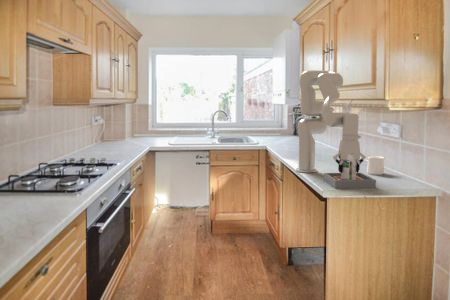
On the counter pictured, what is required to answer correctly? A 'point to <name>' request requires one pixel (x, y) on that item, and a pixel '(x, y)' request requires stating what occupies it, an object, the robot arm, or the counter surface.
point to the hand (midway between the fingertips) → (348, 171)
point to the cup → (375, 165)
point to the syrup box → (349, 168)
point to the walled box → (349, 181)
